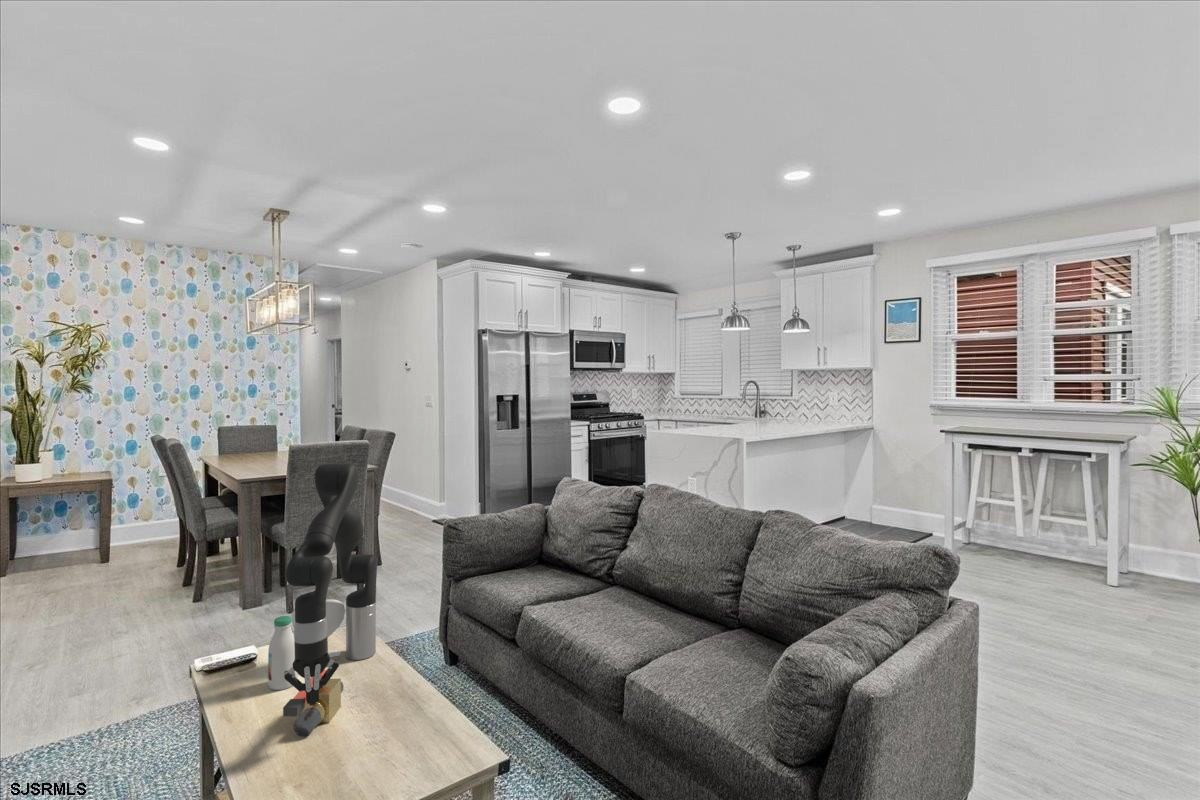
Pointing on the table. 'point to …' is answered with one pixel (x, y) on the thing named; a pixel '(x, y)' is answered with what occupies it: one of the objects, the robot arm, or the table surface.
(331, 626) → the heart sculpture
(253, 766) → the table surface
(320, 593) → the robot arm
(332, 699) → the valve body
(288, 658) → the milk bottle
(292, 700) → the lever
